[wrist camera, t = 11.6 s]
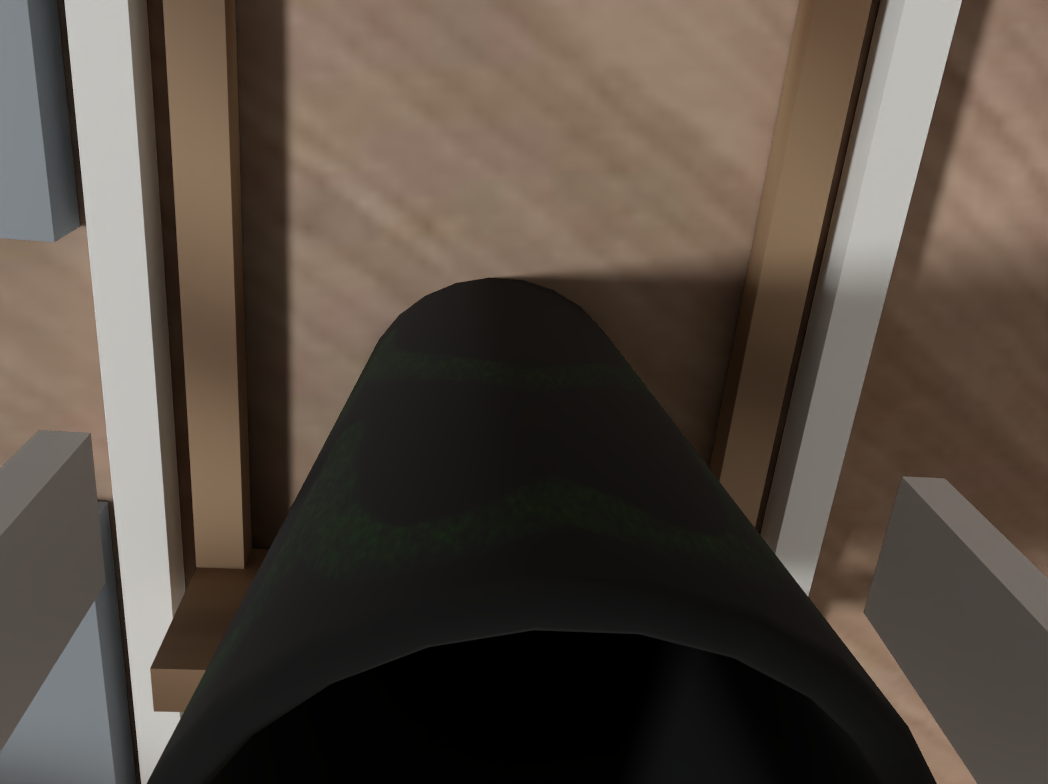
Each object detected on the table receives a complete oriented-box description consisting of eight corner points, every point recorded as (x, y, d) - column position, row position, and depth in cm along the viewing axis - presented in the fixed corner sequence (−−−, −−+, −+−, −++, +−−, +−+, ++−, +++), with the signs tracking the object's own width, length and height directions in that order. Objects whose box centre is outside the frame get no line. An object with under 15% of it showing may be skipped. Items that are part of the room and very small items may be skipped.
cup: (701, 242, 18) (1072, 617, 7) (644, 564, 21) (846, 1175, 10) (310, 210, 17) (60, 576, 6) (308, 549, 20) (135, 1191, 9)
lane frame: (-647, -843, 11) (-764, -932, 10) (1070, -553, 14) (1123, -601, 13) (-131, 969, 25) (-158, 1014, 24) (696, 965, 27) (706, 1007, 26)
